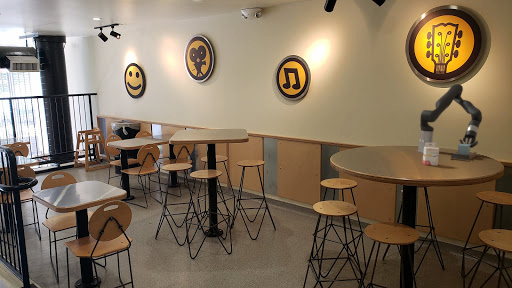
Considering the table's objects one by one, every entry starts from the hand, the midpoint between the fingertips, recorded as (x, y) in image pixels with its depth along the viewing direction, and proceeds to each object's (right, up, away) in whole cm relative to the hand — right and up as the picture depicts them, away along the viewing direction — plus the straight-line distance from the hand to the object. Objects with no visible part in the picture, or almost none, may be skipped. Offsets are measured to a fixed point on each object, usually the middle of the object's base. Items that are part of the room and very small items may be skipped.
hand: (465, 151), depth 283 cm
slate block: (-3, -4, -3) cm, 6 cm away
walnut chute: (-2, -5, 0) cm, 5 cm away
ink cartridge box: (-36, -9, -22) cm, 43 cm away
